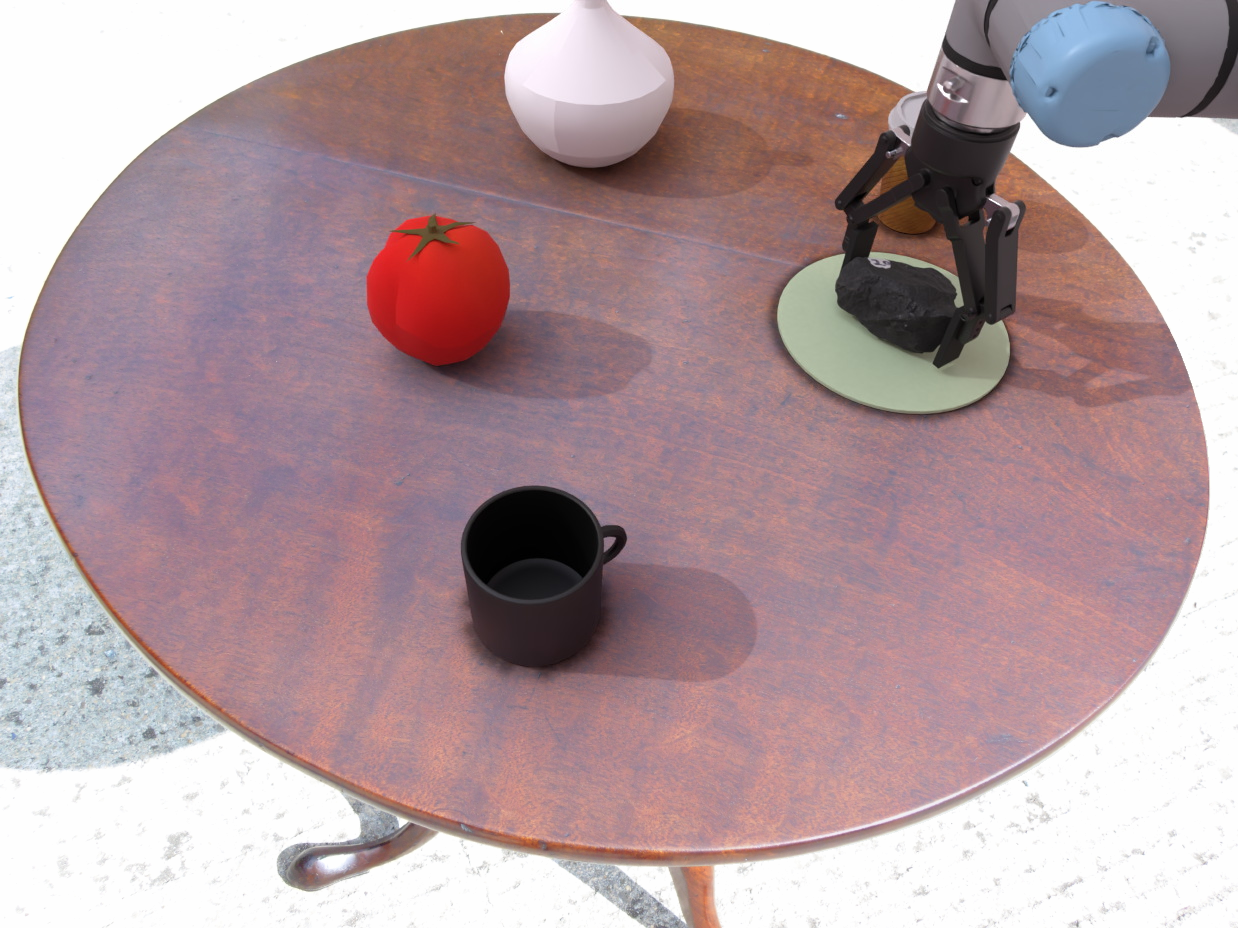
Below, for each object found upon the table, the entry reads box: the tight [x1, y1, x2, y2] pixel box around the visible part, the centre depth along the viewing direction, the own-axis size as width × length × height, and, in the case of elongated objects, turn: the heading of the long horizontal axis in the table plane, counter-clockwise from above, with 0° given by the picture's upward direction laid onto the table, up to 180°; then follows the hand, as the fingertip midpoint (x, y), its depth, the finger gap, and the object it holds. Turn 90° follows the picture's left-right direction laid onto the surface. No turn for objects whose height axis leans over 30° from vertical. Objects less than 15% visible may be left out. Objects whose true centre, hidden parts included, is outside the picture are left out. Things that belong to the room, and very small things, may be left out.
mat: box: [776, 251, 1011, 415], centre depth 88 cm, size 22×22×1 cm
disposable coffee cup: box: [877, 90, 937, 235], centre depth 95 cm, size 10×10×12 cm
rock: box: [835, 257, 958, 354], centre depth 85 cm, size 9×10×6 cm
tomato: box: [366, 212, 511, 367], centre depth 79 cm, size 12×12×13 cm
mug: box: [460, 484, 628, 667], centre depth 64 cm, size 9×12×9 cm
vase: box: [503, 0, 675, 169], centre depth 98 cm, size 18×18×19 cm
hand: (895, 320), depth 87 cm, fingers closed on rock, 12 cm apart
